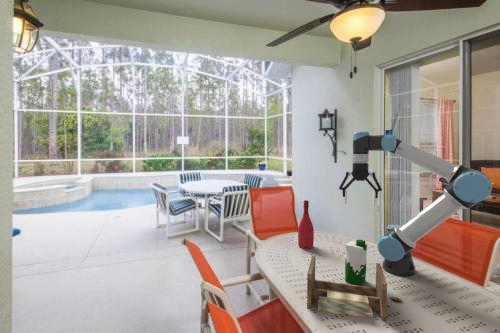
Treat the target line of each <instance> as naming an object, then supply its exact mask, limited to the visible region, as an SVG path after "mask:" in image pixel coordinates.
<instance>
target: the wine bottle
mask: <svg viewBox="0 0 500 333" xmlns="http://www.w3.org/2000/svg"><path fill="white" fill-rule="evenodd" d="M309 205H310V201H309V200H308V199H305V200H303V214H302V217H301V219H300V221H299V224H298V229H297V243H298V244H297V245H298V247H300V248H301V249H306V250H310V249H313V247H314V240H315V238H314V237H315V230H314V224H313V222H312V220H311V217H310V214H309V213H310V212H309V207H310V206H309Z"/></svg>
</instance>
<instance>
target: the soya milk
mask: <svg viewBox="0 0 500 333" xmlns="http://www.w3.org/2000/svg"><path fill="white" fill-rule="evenodd" d="M344 246H345V251H344V252H345V254H344V255H345V258H344V259H345V262H344V264H345V265H344V277H345V278H344V279H345V280H344V281H345V282H346V283H348V284H349V283H350V284H351V285H358V286H363V285H364V283H365V282H366V279H367V278H366V277H367V276H366V275H367V256H368V255H367V250H368V244H367V243H366V240H364V239H356V240H355V241H354V240H350V241H349V242H347V243H345V245H344Z"/></svg>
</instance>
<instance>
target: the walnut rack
mask: <svg viewBox="0 0 500 333" xmlns="http://www.w3.org/2000/svg"><path fill="white" fill-rule="evenodd" d="M375 265H376V266H375V287H370V286H365V285H361V286H359V285H355V284H352V283H350V284H349V283H343V282H342V283H341V282H336V281H335V282H334V281H329V280H321V279H320V280H319V279H316V255H312V256H311V258H310V263H309V267H308V270H307V278H306V279H307V280H306V281H307V283H306V286H307V287H306V289H307V290H306V307H307V309H312V304H313V301H314V302H318V300H319V296H323V297H327V291H330V292H337V293H345V294H352V295H360V296H367V298H368V302H369V306H371V309H372V311H375V312H379V316H380V320H381V321H382V322H387V300H388V298H387V295H388V283H387V280H386V277H385V274H384V271H383V267H382V265H381V263H380V262H379V263H377V262H376V263H375Z"/></svg>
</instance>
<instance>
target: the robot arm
mask: <svg viewBox="0 0 500 333" xmlns="http://www.w3.org/2000/svg"><path fill="white" fill-rule="evenodd" d="M352 135H353V137H352V171H346V172H345V175H344V178H343V180H342V181H341V183H340V185H339V187H338V189H339V190H341V191H342V197H343V198H344V204H346V205H347V199H348V197H347V195H348V191H347V189H348V188H349V187H350V186H351V185H352V184H353V183H354V182H355V181H357V182H360V181H361V182H364V181H366V182H367V184H369V186H370V187H371V188H372V189H373V190H374V191H372V204H373V206H376V199H378V198H379V192H382V191H383V188H382V186H381V185H380V183H379V181H378V179H377V177H376V172H374V171H372V172H370V171H369V154H370V152H369V151H371V152H373V151H375V152H376V151H378V152H383V151H384V152H389V153H391V154H393V155H396V156H398V157H400V158H402V159H403V160H406V161H408V162H410V163H411V164H414V165H416V166H418V167H420V168H422V169H424V170H426V171H428V172H430V173H432V174H434V175H436V176H439V177H441V178H442V179H445V180H446V182H447V183H448V184H447V185H446V186H445V187H444V188H443V193H442V194H441V195H440V196H439V197H437V198H436V199H435V200H433V201H432V202H431V203H430V204H429V205H426V207H425V208H423V209H422V210H421V211H420V212H418V213H417V214H415V215H414V216H413V217H411V218H410V219H409V220H408V221H407V222H405V223H404V224H402V225H399V224H388V225H387V228H386V233H385V234H384V235H383V236H381V237H380V238H379V239H378V242H377V251H378V252H379V254H380V255H381V257H383V260H382V265H381V268H382V270H384V271H385V272H387V273H390V274H393V275H395V276H400V277H401V276H403V277H411V276H414V275H415V274H416V265H415V263H414V259H413V249H415V248H416V247H417V242H418V241H419V240H421V239H422V238H423V237H425V236H426V235H427V234H429V233H430V232H432V231H434V229H435V228H437V227H439V226H440V225H441V224H443V223H445V222H446V221H447V220H448V219H450V218H451V217H452V216H454V215H455V214H457V213H458V212H459V211H461V210H470V209H471V208H472V207H473V206H476V204H478V203H480V202H482V201H485V200H486V199H488V198H489V197H490V195H491V193H492V192H493V184H492V181H491V178H490V177H489V176H488V175H487V174H486V173H484V172H483V171H480V170H476V169H474V168H471V167H467V166H464V165H462V164H454V163H453V162H451V161H448V160H446V159H444V158H441V157H440V156H437V155H435V154H432V153H430V152H428V151H425V150H424V149H421V148H419V147H417V146H414V145H412V144H410V143H408V142H406V141H402V140H400V139H399V138H397V137H396V135H395V134H379V135H370V132H369V131H355V132H354V133H353V134H352ZM350 176H352V177H351V179H350V180H349V182H347V183H346V181H347V180H348V178H349V177H350ZM369 176H370V177H372V180H373V181H374V183H375V185H376V186H375V185H374V184H373V183H372V182H371V181H370V179H369ZM344 185H345V186H344ZM376 187H377V188H376Z"/></svg>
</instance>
